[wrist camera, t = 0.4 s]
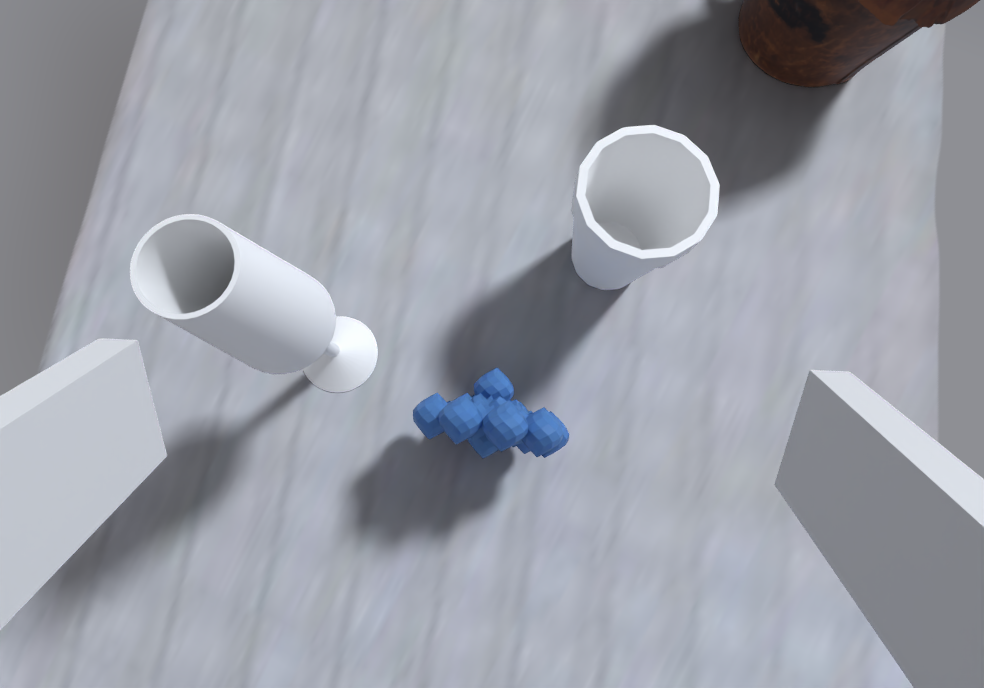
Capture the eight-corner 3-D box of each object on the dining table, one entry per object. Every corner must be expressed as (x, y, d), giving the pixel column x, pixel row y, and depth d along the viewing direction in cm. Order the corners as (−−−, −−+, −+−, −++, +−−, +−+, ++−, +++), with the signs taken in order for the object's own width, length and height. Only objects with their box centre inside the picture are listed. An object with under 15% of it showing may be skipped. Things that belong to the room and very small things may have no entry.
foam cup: (623, 327, 47) (672, 286, 35) (534, 271, 48) (549, 209, 36) (678, 241, 49) (745, 170, 36) (590, 188, 50) (625, 100, 37)
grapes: (564, 387, 47) (589, 369, 35) (554, 467, 45) (575, 476, 34) (430, 366, 47) (409, 341, 35) (416, 445, 46) (390, 447, 34)
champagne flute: (357, 302, 48) (226, 167, 24) (391, 369, 47) (289, 296, 23) (287, 338, 47) (83, 235, 24) (320, 407, 46) (141, 371, 23)
